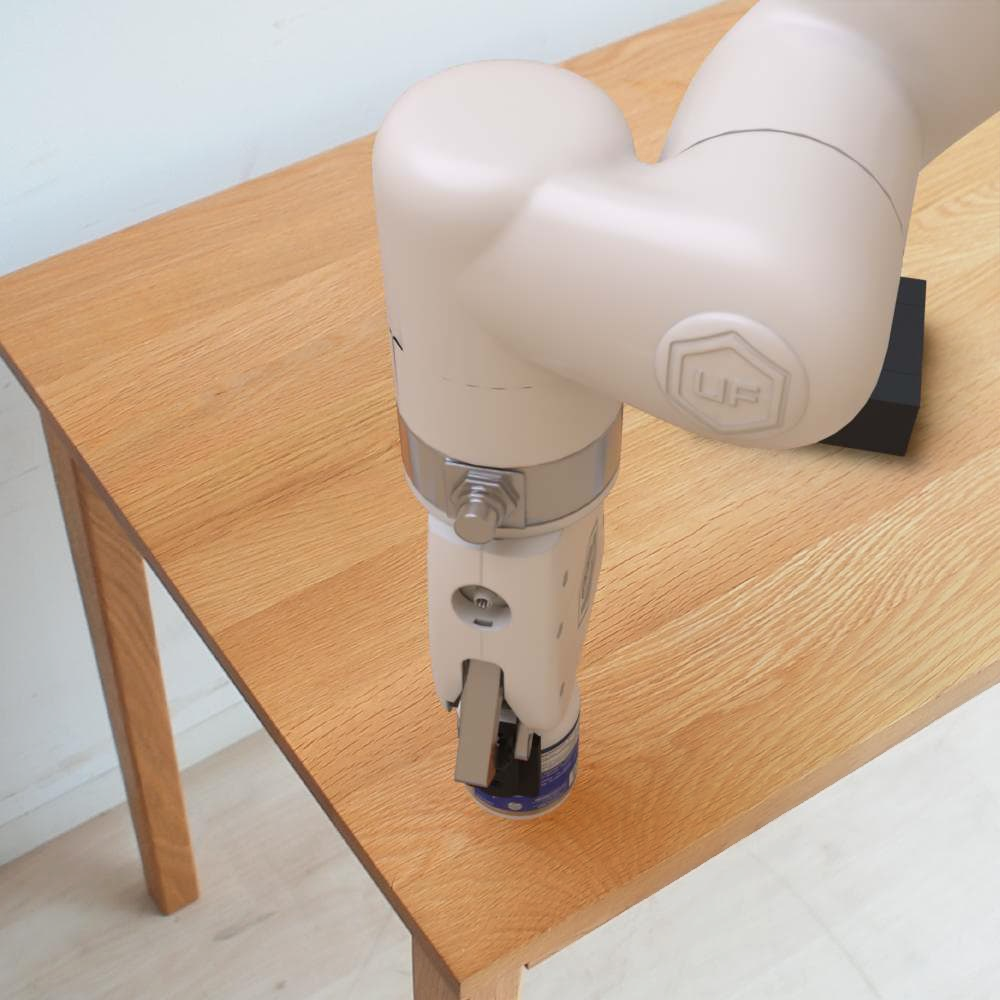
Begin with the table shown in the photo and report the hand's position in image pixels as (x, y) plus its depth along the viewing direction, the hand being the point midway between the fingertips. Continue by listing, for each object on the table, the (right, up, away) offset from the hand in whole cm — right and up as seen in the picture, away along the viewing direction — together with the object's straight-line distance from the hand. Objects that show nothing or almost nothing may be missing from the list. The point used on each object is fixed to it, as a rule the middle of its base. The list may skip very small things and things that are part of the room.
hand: (518, 723), depth 62 cm
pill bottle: (0, -3, +3) cm, 4 cm away
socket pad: (+18, +17, +24) cm, 35 cm away
